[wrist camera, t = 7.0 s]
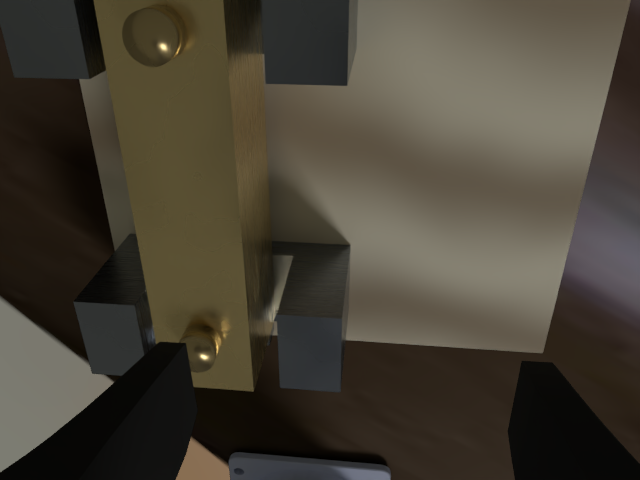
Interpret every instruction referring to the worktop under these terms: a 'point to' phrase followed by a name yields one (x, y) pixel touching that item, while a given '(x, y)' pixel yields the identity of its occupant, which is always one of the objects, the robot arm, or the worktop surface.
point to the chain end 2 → (292, 326)
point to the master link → (197, 174)
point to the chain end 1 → (276, 29)
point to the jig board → (433, 163)
